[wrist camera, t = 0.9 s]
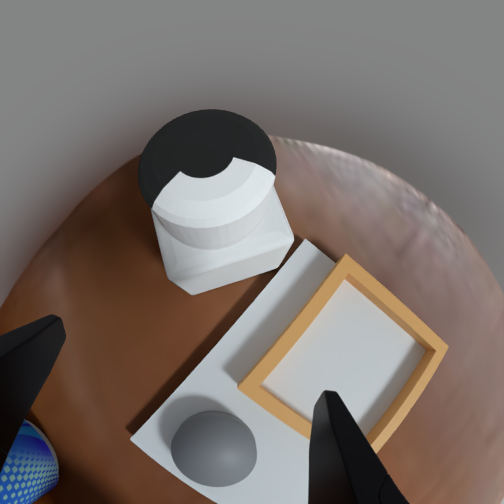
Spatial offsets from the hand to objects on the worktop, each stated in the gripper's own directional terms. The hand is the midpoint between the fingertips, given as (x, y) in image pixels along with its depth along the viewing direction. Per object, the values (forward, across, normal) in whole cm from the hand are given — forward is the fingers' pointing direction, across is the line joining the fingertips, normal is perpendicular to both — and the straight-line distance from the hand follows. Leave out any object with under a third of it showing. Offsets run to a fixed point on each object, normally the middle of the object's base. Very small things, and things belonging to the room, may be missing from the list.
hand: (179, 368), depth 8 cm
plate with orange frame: (+7, -7, +11) cm, 15 cm away
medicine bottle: (+15, +2, +2) cm, 15 cm away
